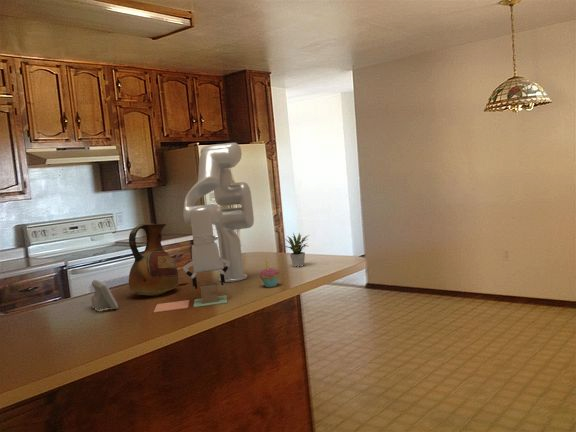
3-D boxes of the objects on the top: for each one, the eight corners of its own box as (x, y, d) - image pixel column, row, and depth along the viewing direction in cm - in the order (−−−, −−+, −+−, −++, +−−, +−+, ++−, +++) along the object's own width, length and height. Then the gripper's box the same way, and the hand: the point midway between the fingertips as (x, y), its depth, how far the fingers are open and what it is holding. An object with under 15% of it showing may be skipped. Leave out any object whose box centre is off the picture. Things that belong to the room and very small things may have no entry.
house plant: (315, 267, 239) (311, 232, 238) (285, 270, 239) (281, 235, 238) (313, 262, 253) (310, 229, 252) (285, 265, 254) (282, 232, 252)
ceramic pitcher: (189, 290, 217) (180, 219, 215) (147, 301, 203) (137, 225, 201) (162, 286, 231) (154, 219, 229) (121, 297, 216) (112, 226, 214)
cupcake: (278, 287, 204) (275, 257, 203) (257, 288, 206) (254, 259, 205) (282, 282, 213) (279, 253, 212) (262, 284, 214) (259, 255, 214)
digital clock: (119, 310, 194) (115, 282, 193) (93, 315, 190) (89, 286, 189) (116, 302, 209) (112, 276, 208) (92, 306, 205) (88, 279, 204)
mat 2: (194, 300, 197) (194, 299, 197) (226, 295, 199) (226, 295, 199) (193, 307, 186) (193, 306, 186) (227, 303, 187) (227, 302, 187)
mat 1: (157, 305, 196) (157, 304, 196) (189, 300, 197) (189, 300, 197) (153, 312, 184) (153, 312, 184) (187, 308, 185) (187, 307, 185)
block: (202, 300, 195) (200, 284, 194) (218, 297, 196) (216, 282, 195) (202, 303, 189) (200, 287, 188) (218, 301, 190) (217, 285, 189)
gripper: (226, 236, 196) (232, 280, 198) (180, 242, 193) (186, 287, 195) (227, 239, 188) (233, 285, 190) (179, 245, 186) (185, 291, 188)
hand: (209, 286), depth 193 cm, fingers open, 9 cm apart
